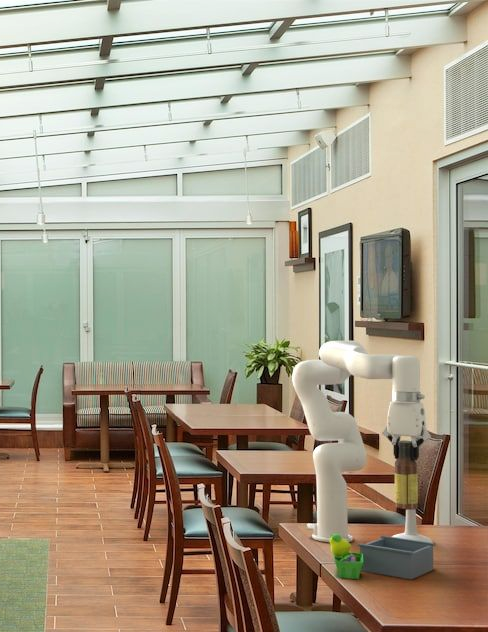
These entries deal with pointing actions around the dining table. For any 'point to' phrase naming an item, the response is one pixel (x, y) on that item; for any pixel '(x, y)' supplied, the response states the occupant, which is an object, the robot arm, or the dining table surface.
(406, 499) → the sauce bottle
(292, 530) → the dining table surface
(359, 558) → the fruit basket
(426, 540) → the candlestick
